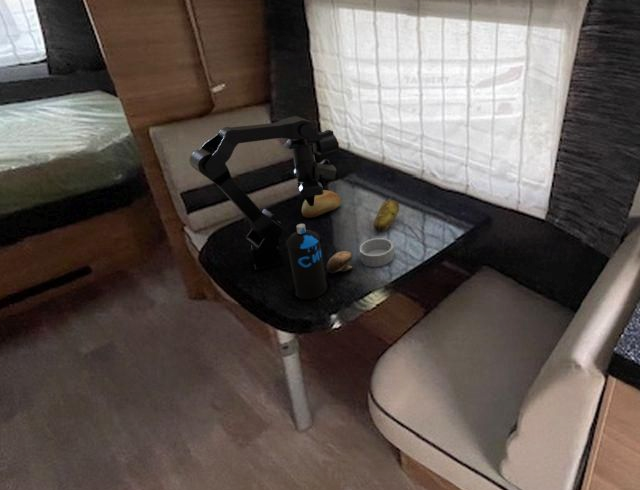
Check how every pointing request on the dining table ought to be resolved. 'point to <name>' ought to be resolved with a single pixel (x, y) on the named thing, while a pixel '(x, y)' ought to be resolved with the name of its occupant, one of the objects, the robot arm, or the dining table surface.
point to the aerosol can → (306, 263)
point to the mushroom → (339, 262)
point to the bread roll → (321, 204)
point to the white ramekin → (376, 252)
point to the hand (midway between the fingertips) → (311, 205)
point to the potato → (386, 215)
